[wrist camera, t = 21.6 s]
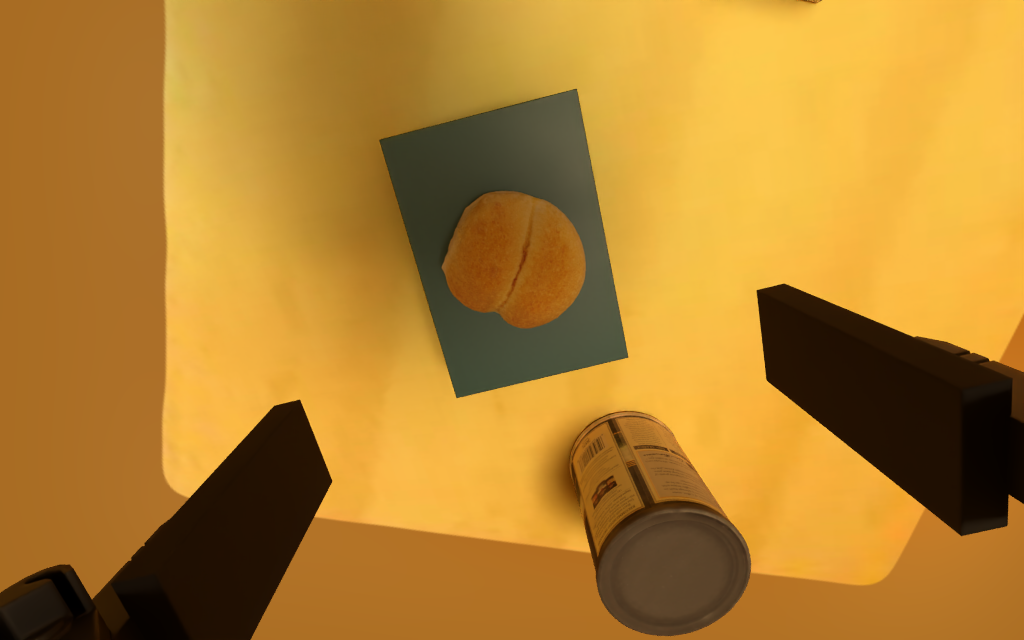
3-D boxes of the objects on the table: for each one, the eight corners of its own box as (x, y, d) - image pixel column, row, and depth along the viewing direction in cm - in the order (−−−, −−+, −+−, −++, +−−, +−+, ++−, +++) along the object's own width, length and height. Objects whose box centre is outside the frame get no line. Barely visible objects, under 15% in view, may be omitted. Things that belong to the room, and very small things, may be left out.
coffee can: (662, 516, 50) (723, 646, 37) (557, 499, 49) (581, 626, 36) (694, 420, 47) (774, 523, 34) (584, 400, 46) (620, 498, 33)
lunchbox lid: (381, 140, 33) (378, 139, 33) (575, 90, 33) (576, 88, 32) (457, 393, 38) (456, 398, 38) (625, 353, 38) (628, 357, 37)
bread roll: (553, 336, 37) (559, 356, 33) (432, 287, 35) (424, 302, 32) (605, 226, 35) (618, 234, 31) (478, 170, 33) (476, 171, 29)
